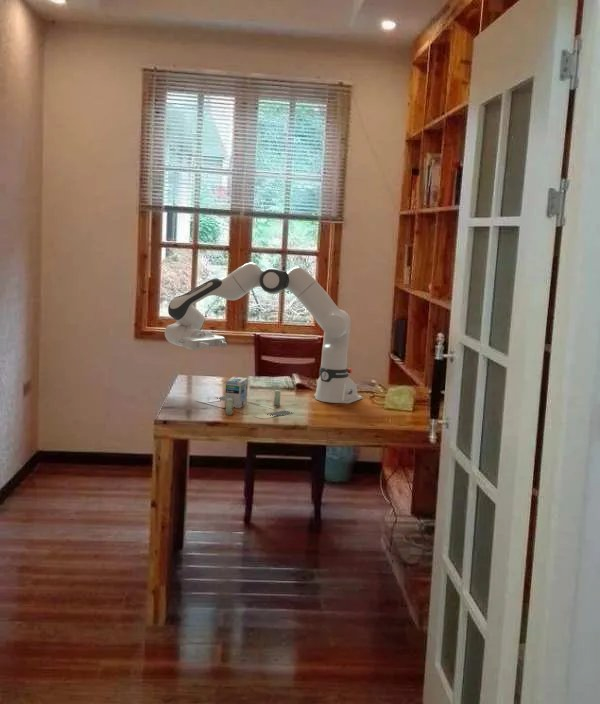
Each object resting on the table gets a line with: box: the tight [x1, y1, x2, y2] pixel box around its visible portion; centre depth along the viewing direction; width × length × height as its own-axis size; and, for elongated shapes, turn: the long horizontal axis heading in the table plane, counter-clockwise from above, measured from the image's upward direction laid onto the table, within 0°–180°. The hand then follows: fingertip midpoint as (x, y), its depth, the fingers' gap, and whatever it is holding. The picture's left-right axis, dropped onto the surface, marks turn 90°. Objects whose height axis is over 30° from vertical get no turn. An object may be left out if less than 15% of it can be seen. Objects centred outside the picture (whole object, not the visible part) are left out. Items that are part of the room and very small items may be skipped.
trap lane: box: [216, 389, 293, 417], centre depth 321 cm, size 30×38×6 cm
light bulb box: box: [224, 376, 249, 409], centre depth 323 cm, size 11×7×11 cm, turn 168°
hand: (217, 345), depth 328 cm, fingers open, 8 cm apart
